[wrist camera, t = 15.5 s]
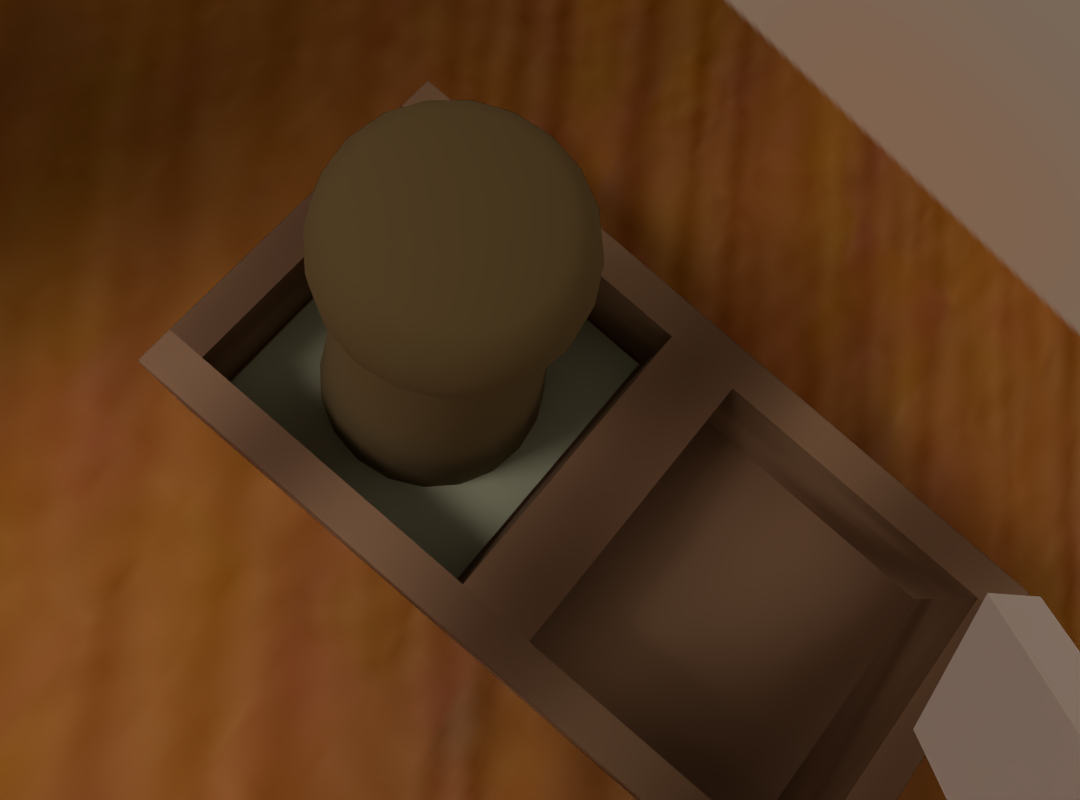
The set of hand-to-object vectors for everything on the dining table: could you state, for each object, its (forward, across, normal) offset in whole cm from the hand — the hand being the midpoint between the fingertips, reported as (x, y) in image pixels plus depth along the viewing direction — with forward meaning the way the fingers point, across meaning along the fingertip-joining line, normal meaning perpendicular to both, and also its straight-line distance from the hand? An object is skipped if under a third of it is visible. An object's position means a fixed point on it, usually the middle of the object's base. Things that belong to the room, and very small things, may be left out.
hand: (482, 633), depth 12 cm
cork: (+14, -1, -4) cm, 14 cm away
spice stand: (+12, +4, -8) cm, 15 cm away
